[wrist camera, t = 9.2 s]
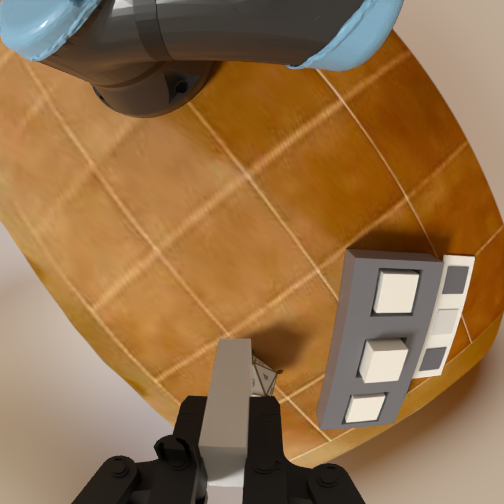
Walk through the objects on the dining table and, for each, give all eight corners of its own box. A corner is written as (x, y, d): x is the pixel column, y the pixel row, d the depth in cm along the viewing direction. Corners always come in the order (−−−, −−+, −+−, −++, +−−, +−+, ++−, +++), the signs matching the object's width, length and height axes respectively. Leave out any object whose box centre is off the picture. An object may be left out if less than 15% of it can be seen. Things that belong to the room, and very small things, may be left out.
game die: (258, 343, 44) (306, 364, 36) (245, 396, 43) (289, 425, 35) (203, 338, 39) (246, 363, 31) (191, 397, 38) (229, 433, 30)
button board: (345, 248, 36) (355, 257, 32) (429, 253, 36) (444, 262, 32) (316, 412, 43) (320, 430, 39) (386, 407, 43) (393, 423, 39)
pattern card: (443, 254, 36) (445, 255, 36) (473, 256, 36) (475, 257, 36) (410, 377, 41) (411, 379, 41) (439, 374, 41) (440, 375, 41)
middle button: (366, 338, 36) (373, 351, 33) (399, 337, 36) (408, 349, 33) (358, 369, 37) (364, 383, 34) (390, 367, 37) (398, 380, 34)
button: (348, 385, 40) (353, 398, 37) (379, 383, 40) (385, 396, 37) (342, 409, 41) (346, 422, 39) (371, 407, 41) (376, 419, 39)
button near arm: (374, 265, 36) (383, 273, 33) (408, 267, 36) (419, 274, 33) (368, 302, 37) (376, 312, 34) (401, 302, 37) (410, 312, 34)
